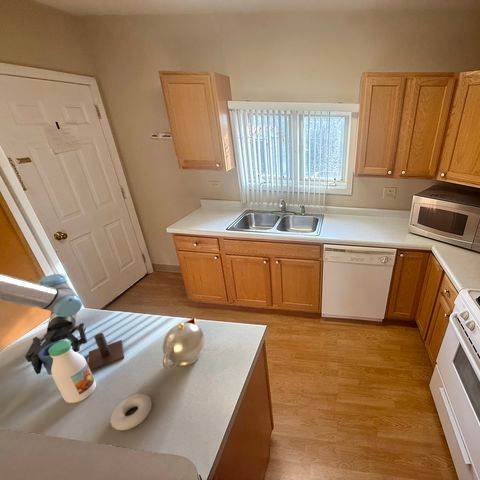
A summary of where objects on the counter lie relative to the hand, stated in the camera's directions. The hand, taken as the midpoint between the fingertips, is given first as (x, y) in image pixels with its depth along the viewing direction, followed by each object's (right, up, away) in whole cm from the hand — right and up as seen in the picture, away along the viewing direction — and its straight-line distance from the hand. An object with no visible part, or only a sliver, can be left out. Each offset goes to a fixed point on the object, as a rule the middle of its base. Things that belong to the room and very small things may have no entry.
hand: (55, 364), depth 81 cm
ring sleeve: (-3, -3, +6) cm, 7 cm away
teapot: (+35, -5, +13) cm, 38 cm away
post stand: (+6, -3, +13) cm, 15 cm away
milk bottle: (+8, -9, 0) cm, 13 cm away
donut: (+29, -13, -5) cm, 32 cm away
